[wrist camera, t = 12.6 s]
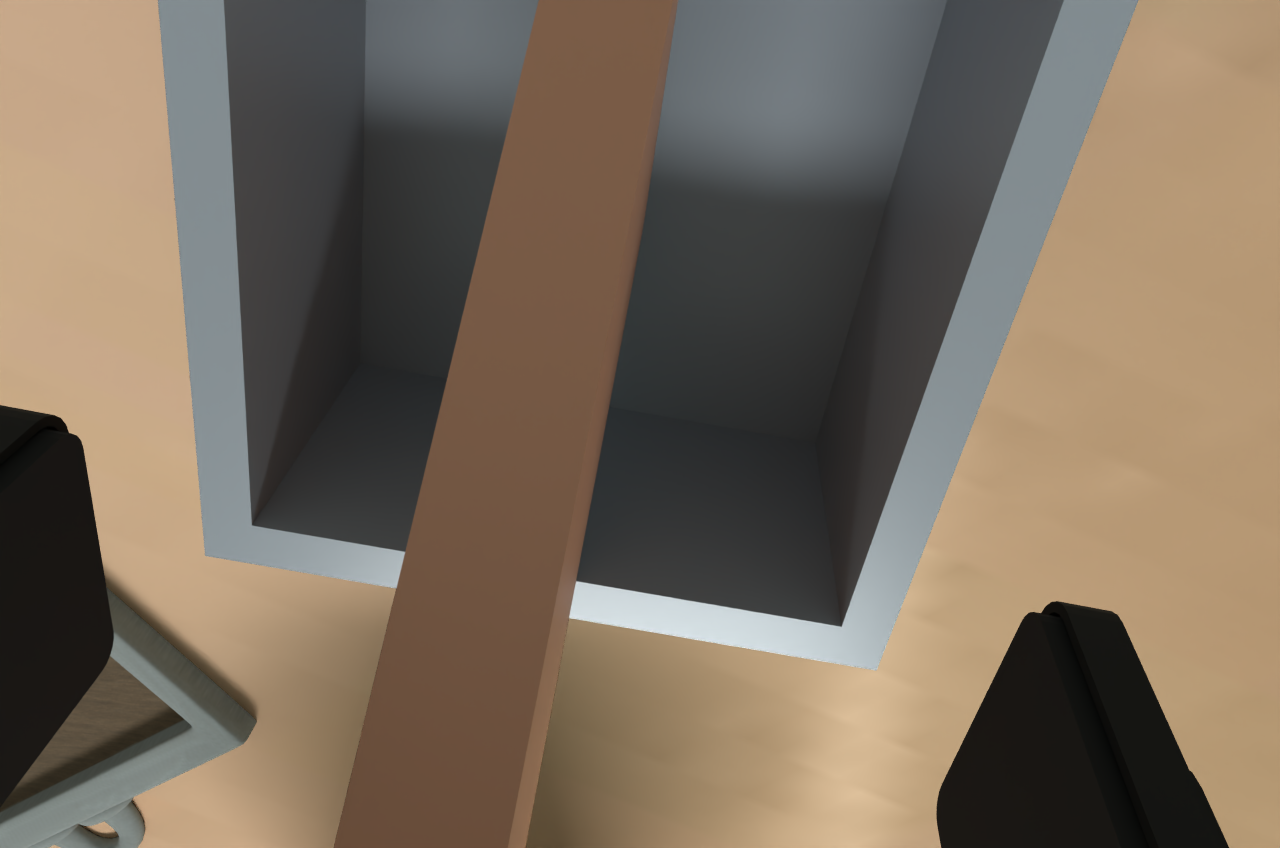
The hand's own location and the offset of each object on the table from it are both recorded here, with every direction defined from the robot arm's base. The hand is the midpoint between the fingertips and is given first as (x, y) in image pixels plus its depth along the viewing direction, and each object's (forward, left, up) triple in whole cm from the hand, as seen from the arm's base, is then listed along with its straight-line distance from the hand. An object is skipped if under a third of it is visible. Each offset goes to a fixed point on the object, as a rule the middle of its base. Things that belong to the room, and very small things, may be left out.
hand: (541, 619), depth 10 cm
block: (+1, -3, -11) cm, 11 cm away
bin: (0, 0, -16) cm, 16 cm away
